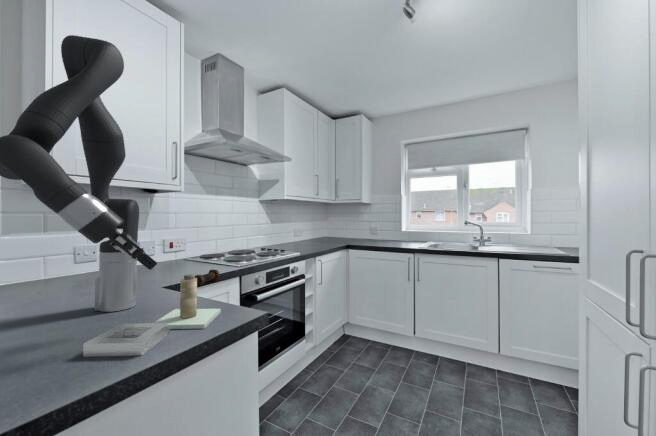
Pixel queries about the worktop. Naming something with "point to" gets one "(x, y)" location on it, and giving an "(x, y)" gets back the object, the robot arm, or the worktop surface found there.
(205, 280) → the bolt
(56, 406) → the worktop surface
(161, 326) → the grey square frame
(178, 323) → the set down board
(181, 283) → the key peg
